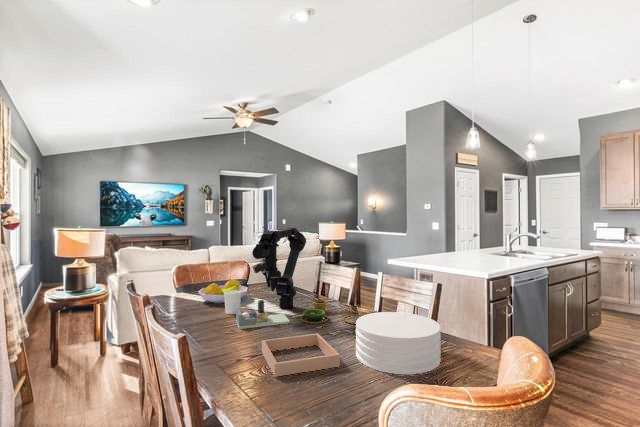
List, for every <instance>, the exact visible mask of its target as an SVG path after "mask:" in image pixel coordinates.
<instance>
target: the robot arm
mask: <svg viewBox="0 0 640 427" xmlns="http://www.w3.org/2000/svg"><path fill="white" fill-rule="evenodd" d="M284 238H287V241H288V242H289V243H288V244H289V249H290V250H289V254H288V257H287V260H286V264H285V267H284V269H283V270H284V271H283V274H282V271H280V270H279V269H278V267H277V264H278V263H277V262H278V258H277V257H278V256H277V248H279V246H280V245H279V243H278V242H280V241H281V239H284ZM306 243H307V238H306V237H305V235H304V234H303V233H302V232H300V231H299V230H298V229H297V228H296V227H287V228H284V229H279V230H264V231H263V233H262V234H261V236H260V239H259V241H258V243H255V247H253V250H252V256H253V258H254V259H255V260H260V259H261V260H262V262H259V263H256V264H254V265H252V269H253V272H254V273H255V274H259V273H260V272H261V274H263V276H264V278H265V282H266V285H267V288H270V290H271V292H274V291H275V292H276V295H277V296H279V298H278V307H279V308H280V309H281V310H288V309H290V310H291V309H295V307H294V297H295V296H297V290H296V288H295V287H294V280H293V276H294V273H295V269H296V266H297V262H298V258H299V256H300V253H301V252H302V251H303V250H304V249H305V246H306Z"/></svg>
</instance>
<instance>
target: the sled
mask: <svg viewBox="0 0 640 427" xmlns="http://www.w3.org/2000/svg"><path fill="white" fill-rule="evenodd" d="M250 312H251V318H256V322H260V321H268V315H269V313H268V311H267V310H266V309H265V301H264V300H263V299H262V300H261V299H260V300H258V301H257V310H255V309H252V310H250Z"/></svg>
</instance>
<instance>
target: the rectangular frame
mask: <svg viewBox="0 0 640 427" xmlns="http://www.w3.org/2000/svg"><path fill="white" fill-rule="evenodd" d="M313 345H316V347H317V346H318V347H319V348H320V349H321V350H322V351H321V350H320V349H319V348H318V347H317V348H318V349H319V350H320V351H321V352H322V353H323V354H324V355H319V356H314V357H313V356H312V357H306V358H298V359H292V360H286V361H279V362H277V359H276V357H275V356H274V355H273V353H272V352H277V351H276V350H279V351H285V350H284V349H286V350H292V349H291V348H294V349H300V348H299V347H301V348H306V347H305V346H308V347H314V346H313ZM271 351H272V352H271ZM261 353H262V355H263V357H264V359H265V361H266V363H267V365H268V368H269V369H270V368H271V369H270V371H271V373H272V372H273V373H272V375H273V374H274V375H273V377H274V376H282V375H287V374H294V373H300V372H307V373H309V372H308V371H314V372H316V371H315V370H320V371H322V370H321V369H326V368H332V367H337V366H340V367H341V354H340V353H339V352H338V351H337V350H336V349H335V348H334V347H332V345H331V344H330V343H329V342H327V340H325V339H324V338H323V336H321V335H320V333H317V332H316V333H310V334H302V335H301V334H300V335H295V336H285V337H277V338H270V339H261ZM332 369H333V368H332ZM326 370H327V369H326Z"/></svg>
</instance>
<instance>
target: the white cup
mask: <svg viewBox="0 0 640 427" xmlns="http://www.w3.org/2000/svg"><path fill="white" fill-rule="evenodd" d="M224 299H225V303H224V308H225V309H224V310H225V314H226V315H236V309H240V310H241V299H242V297H241V291H236V290H233V291H226V292H224Z"/></svg>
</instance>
